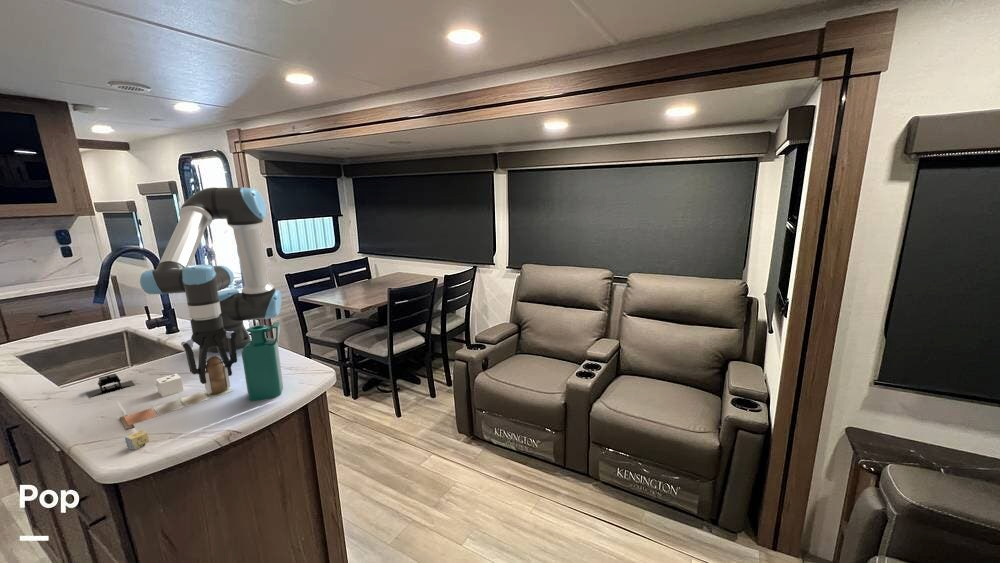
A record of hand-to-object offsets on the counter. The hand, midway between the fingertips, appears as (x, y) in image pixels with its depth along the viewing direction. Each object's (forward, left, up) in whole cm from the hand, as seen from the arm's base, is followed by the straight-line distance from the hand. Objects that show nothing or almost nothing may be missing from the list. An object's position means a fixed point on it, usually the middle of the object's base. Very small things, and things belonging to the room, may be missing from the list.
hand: (218, 388), depth 117 cm
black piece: (+20, -31, -2) cm, 37 cm away
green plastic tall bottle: (-9, +14, -2) cm, 17 cm away
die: (+9, -12, -1) cm, 15 cm away
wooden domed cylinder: (0, 0, -1) cm, 1 cm away
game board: (+9, 0, -1) cm, 9 cm away
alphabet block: (+21, +16, -2) cm, 27 cm away
